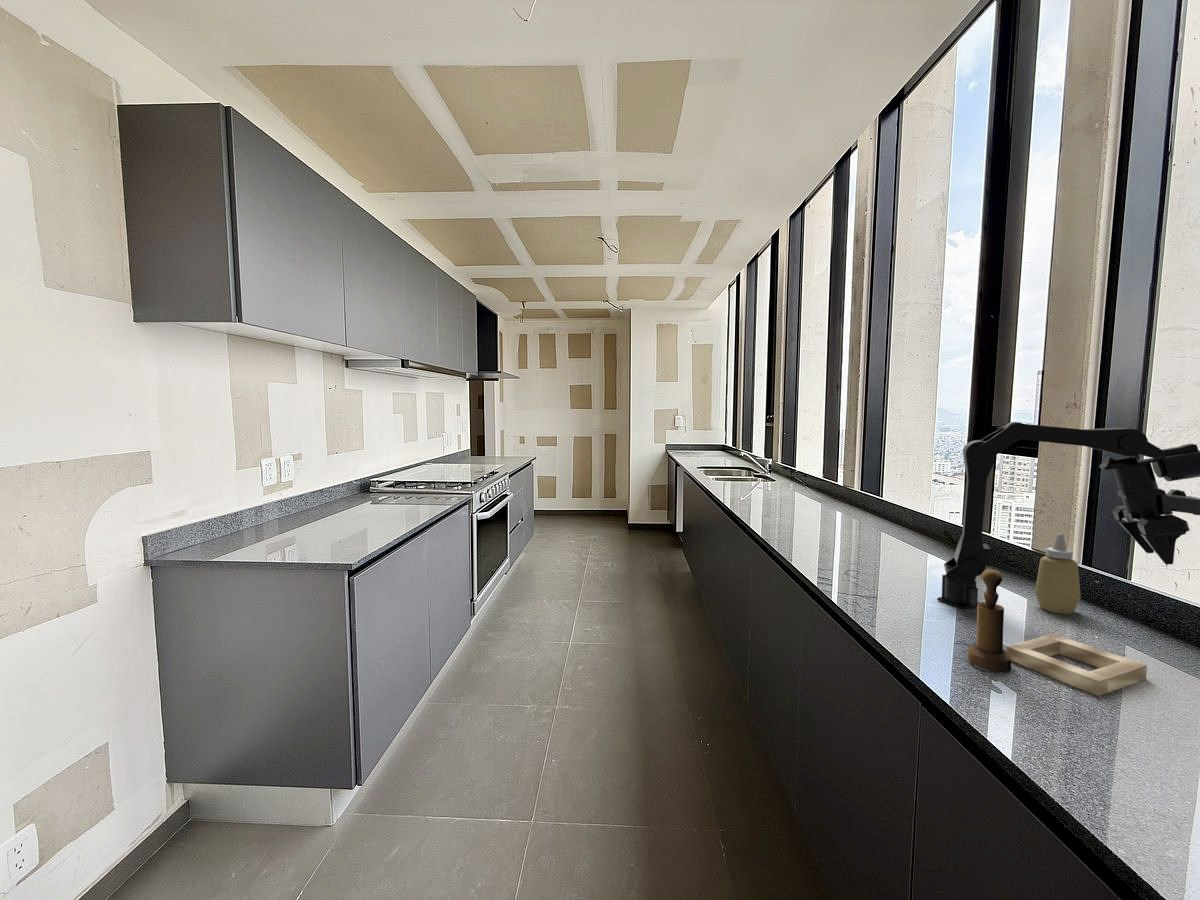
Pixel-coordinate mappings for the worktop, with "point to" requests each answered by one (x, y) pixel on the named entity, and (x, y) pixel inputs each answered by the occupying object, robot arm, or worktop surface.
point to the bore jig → (1098, 682)
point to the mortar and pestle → (990, 629)
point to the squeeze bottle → (1058, 579)
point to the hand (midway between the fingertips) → (1159, 558)
